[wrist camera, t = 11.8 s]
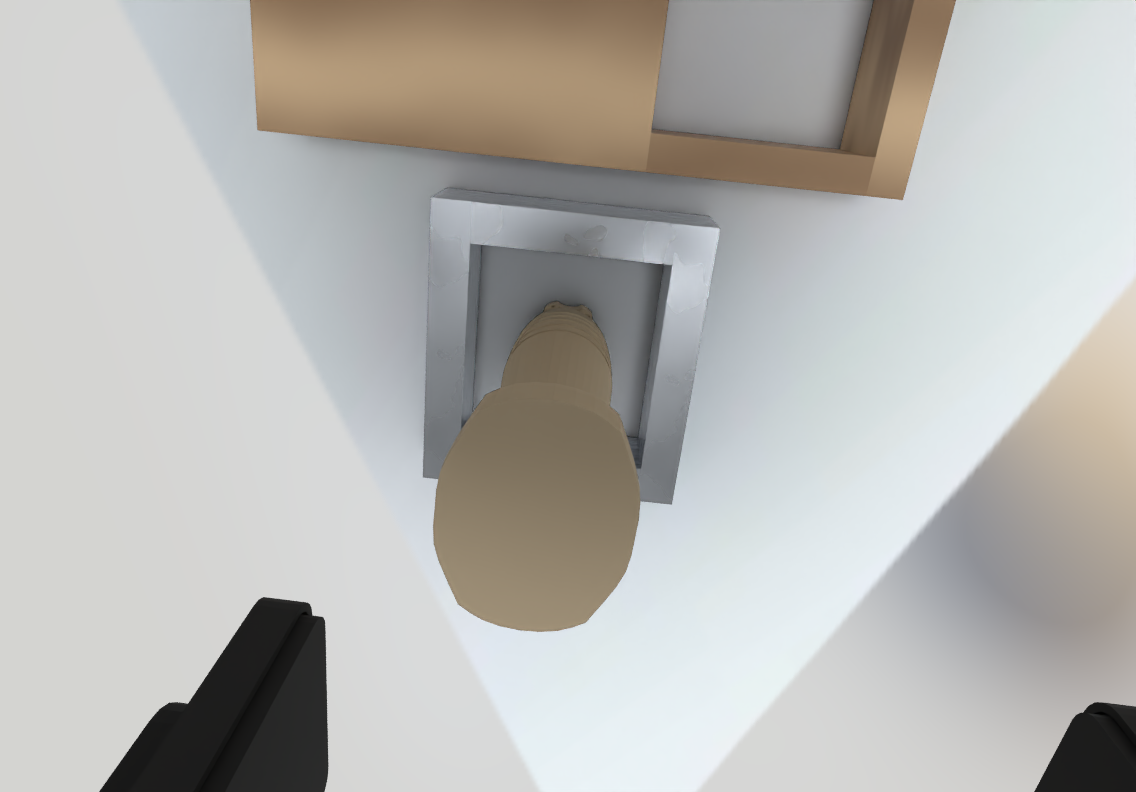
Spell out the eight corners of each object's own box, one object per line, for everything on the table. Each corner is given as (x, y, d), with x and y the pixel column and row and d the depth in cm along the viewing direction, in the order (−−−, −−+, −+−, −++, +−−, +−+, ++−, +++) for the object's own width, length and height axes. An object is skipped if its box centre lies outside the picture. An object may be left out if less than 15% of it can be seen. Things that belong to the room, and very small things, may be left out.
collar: (447, 187, 29) (430, 197, 27) (709, 216, 29) (720, 228, 27) (437, 445, 34) (423, 477, 31) (666, 470, 34) (671, 504, 31)
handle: (500, 395, 33) (425, 616, 19) (517, 252, 30) (444, 384, 16) (608, 411, 33) (613, 643, 19) (633, 269, 30) (660, 416, 16)
